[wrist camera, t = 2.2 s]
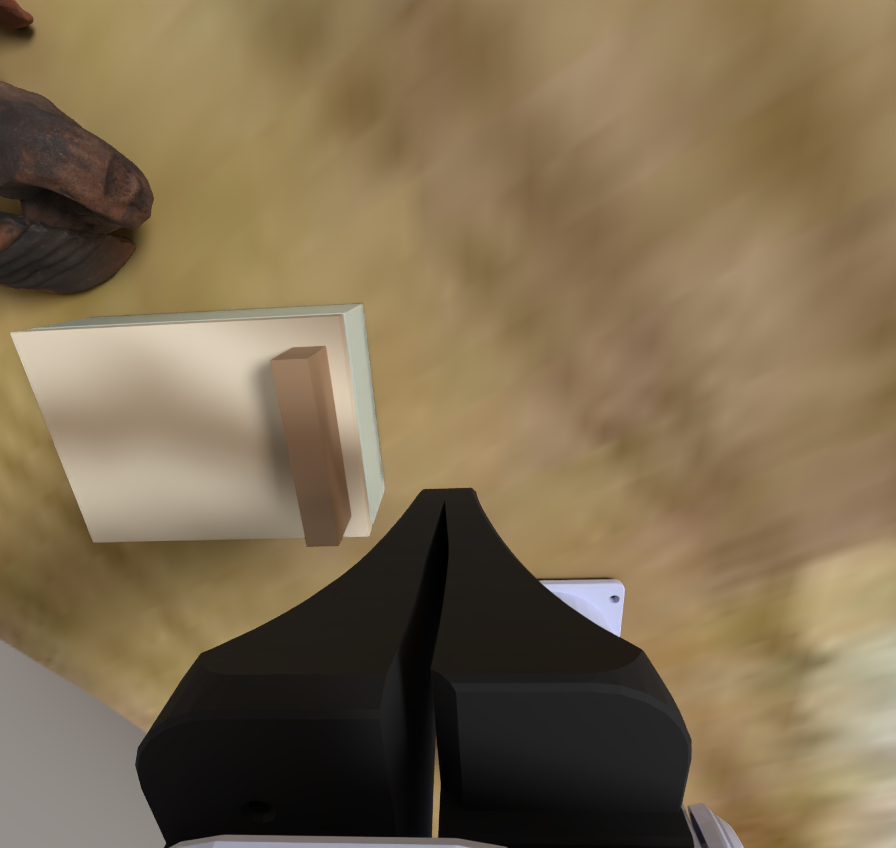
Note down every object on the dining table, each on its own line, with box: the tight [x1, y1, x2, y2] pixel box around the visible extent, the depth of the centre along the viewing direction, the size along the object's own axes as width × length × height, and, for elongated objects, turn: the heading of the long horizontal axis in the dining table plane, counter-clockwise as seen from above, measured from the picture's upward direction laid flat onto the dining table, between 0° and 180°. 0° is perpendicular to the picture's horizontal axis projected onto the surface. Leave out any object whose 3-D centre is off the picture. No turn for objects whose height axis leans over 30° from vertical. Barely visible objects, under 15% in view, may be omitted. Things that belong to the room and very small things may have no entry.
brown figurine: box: [0, 0, 154, 294], centre depth 15 cm, size 12×10×8 cm
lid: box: [10, 314, 372, 547], centre depth 17 cm, size 9×12×3 cm
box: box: [32, 303, 385, 524], centre depth 20 cm, size 9×12×3 cm
